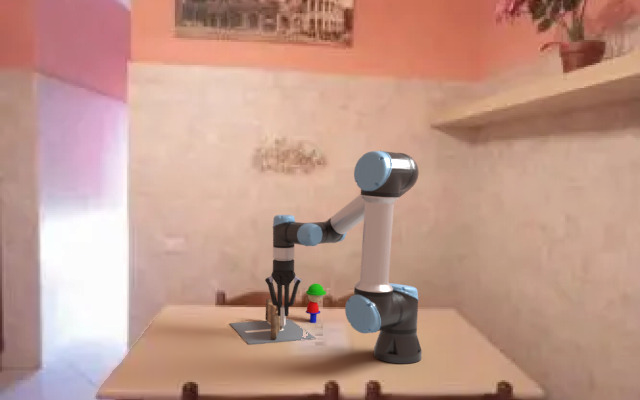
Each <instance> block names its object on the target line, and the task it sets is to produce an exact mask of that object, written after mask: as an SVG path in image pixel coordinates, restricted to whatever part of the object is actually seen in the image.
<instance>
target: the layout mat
mask: <svg viewBox="0 0 640 400" xmlns="http://www.w3.org/2000/svg"><path fill="white" fill-rule="evenodd" d="M229 325H230V327H232V328H233V329H234V330H235V332H237V333H238V334H239V336H240V337H241V338H242V339H243V340H244V341H245V342H246V344H247V345H249V346H250V345H261V344H271V343H272V344H273V343H274V344H275V343H282V342H283V343H284V342H296V340H298V341H302V340H301V339H310V340H312V339H311V338H315V339H316V337H315V336H313V335H312V334H311V333H310V332H308V331H307V332H306V334H307V333H308V336H306V338H304V337H302V336H303V329H304V328H303V327H301V326H300V325H298V324H297V323H296V322H295V321H293V320H292V319H290V318H286V324H285V326H282V330H279V332H278V334H277V336H276V339H271V323H270V322H269V321H267V320H257V321H255V320H254V321H241V322H230V323H229ZM300 327H301V328H300ZM302 328H303V329H302Z"/></svg>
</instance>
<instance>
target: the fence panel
mask: <svg viewBox="0 0 640 400" xmlns="http://www.w3.org/2000/svg"><path fill="white" fill-rule="evenodd" d="M279 330H280V316H278V310H277V311H276V313H275V315H271V339H276V336H277V334H278V332H279Z"/></svg>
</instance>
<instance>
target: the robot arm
mask: <svg viewBox="0 0 640 400" xmlns="http://www.w3.org/2000/svg"><path fill="white" fill-rule="evenodd" d="M419 173H420V172H419V167H418V164H417V162H416V161H415V159H414V158H413V157H411V156H410V155H409V154H407V153H404V152H403V153H402V152H393V151H392V152H391V151H386V150H385V151H384V150H383V151H382V150H375V151H374V150H372V151H367V152H366V153H364V154H363V155H362V156H360V157H359V159H358V160H357V162H356V164H355V166H354V171H353V178H354V182H355V183H356V186H357V187H358V188H360V194H359V195H357V196H356V197H355V198H354V199H352V200H351V201H350V202H349V203H347V204H346V205H345V206H343V207H342V208H341V209H340V210H338V211H337V212H336V213H335V214H333V215H332V216H331V217H330V218H329V219H327V220H326V221H317V222H316V221H314V222H297V221H296V220H295V219H296V218H295V216H294V215H292V214H277V215H275V216H274V217H273V222H272V223H273V224H272V258H273V260H272V273H271V275H270V276H268V277H266V278H265V282H266V283H265V284H267V286H268V290H269V295H270V299H271V303H272V304H273V305H275V306H277V307H278V316H281V320H280V326H285V324H286V319H287V317H288V316H289V314H290V312H289V307H292V306H294V304H295V300H296V296H297V293H298V289H299V285H300V284H301V282H302V278H299V277H297V275H296V273H295V260H294V258H295V245H300V246H305V247H316V246H317V245H320V244H336V243H339V242H343V241H344V240H345V238H346V236H347V234H348V232H350V231H351V230H352V229H353V228H355V227H356V226H357V225H359V224H360V223H362V222H363V228H362V229H363V231H362V241H361V242H362V243H361V246H362V247H361V259H360V273H359V275H360V276H359V281H358V282H356V283H354V288H353V289H354V290H353V295H351V296H350V297H349V298H348V299H347V300H346V303H345V309H344V312H345V317H346V319H347V321H348V323H350V326H351V328H352V329H354V331H357V332H358V333H360V334H374V333H376V332H378V333H379V334H378V337H377V339H376V342H375V345H374V348H373V355H374V358H376V359H378V360H380V361H381V362H382V361H383V362H387V363H393V364H414V363H417V362H420V361H421V360H422V358H423V357H422V355H423V354H422V353H423V352H422V348H421V344H420V341H419V340H420V339H419V337H418V336H419V335H418V331H417V330H418V312H419V308H418V307H419V301H420V299H419V292H418V289H417V288H416V287H414V286H413V285H412V286H411V285H406V284H400V283H390V281H389V279H390V266H391V265H390V264H391V253H392V252H391V250H392V237H393V225H394V224H393V223H394V209H395V208H394V207H395V203H396V202H397V201H398V200H399V199H400V197H402V196H403V195H405V194H406V193H407V192H409V191H410V190H412V188H413V187H414V186H415V185H416V183H417V181H418V178H419ZM273 282H274V283H276V288H277V290H275V285H274V283H273ZM292 282H293V283H294V284H293V289H292V293H291V297H290V284H291V283H292ZM283 288H284V290H283ZM276 291H277V295H276ZM283 291H284V294H283ZM283 295H284V296H283ZM283 297H284V299H283ZM283 301H284V303H283ZM283 304H284V305H283Z"/></svg>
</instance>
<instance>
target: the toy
mask: <svg viewBox="0 0 640 400" xmlns="http://www.w3.org/2000/svg"><path fill="white" fill-rule="evenodd" d="M305 294H306V295H307V299H308V300H309V302H308V303H307V308H306V311H305V313H306V314H309V323H311V324H316V323H317V315H319V314H321V311H320V309H319V304H318V303H319V302H321V300H322V299H323V296H324V295H327V291H325V290H324V287H323V285H321V284H320V283H312V284H310V285H309V286H308V288H307V290H305Z"/></svg>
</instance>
